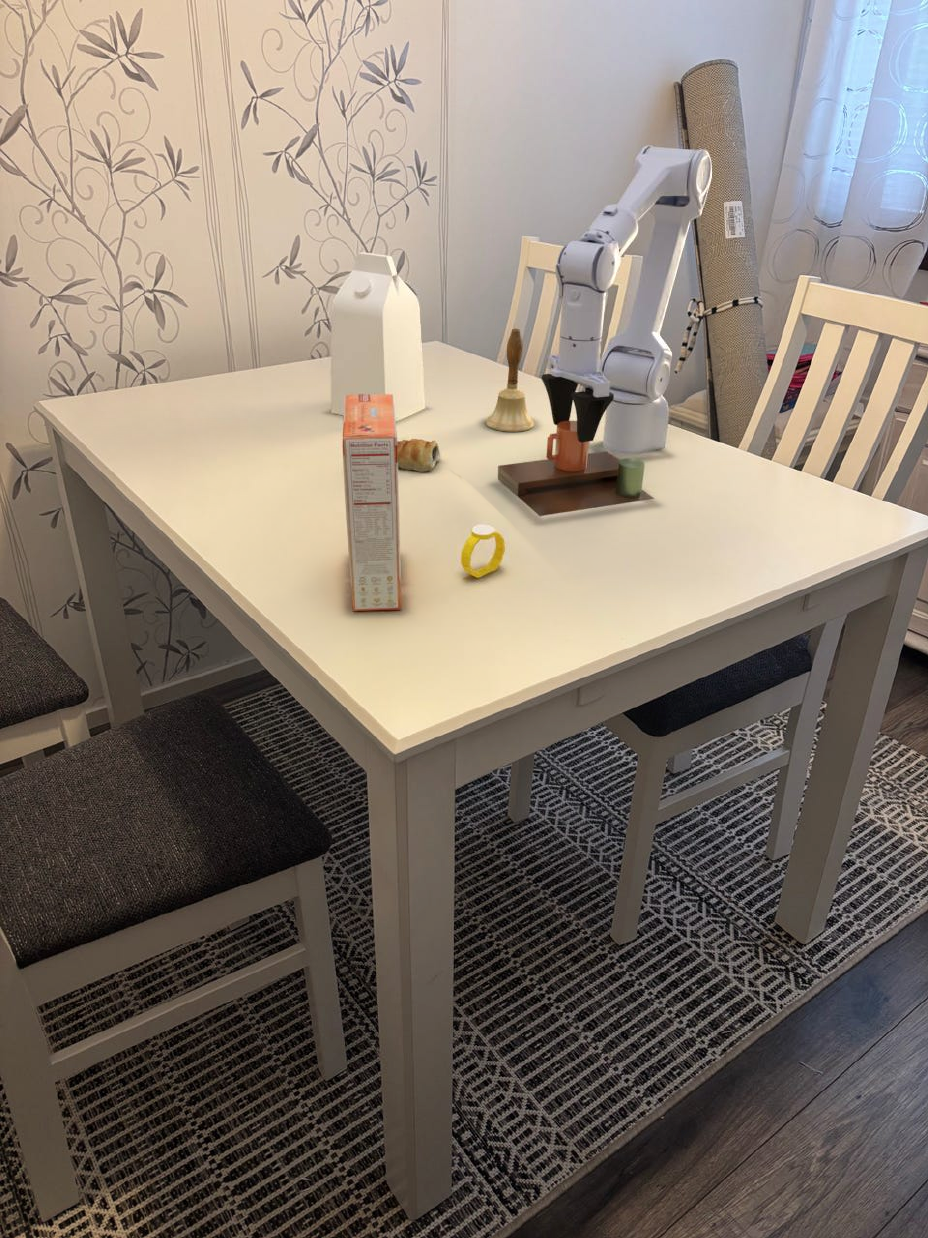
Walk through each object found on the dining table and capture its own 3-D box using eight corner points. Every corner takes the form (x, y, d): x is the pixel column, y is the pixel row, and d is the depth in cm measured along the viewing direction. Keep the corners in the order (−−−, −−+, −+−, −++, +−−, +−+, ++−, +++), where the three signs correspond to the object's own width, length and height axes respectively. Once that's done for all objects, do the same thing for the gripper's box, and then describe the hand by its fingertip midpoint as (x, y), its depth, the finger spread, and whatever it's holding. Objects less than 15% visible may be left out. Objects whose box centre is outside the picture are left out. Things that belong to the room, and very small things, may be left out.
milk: (425, 408, 172) (425, 253, 159) (386, 425, 163) (383, 264, 150) (370, 396, 177) (366, 245, 164) (330, 412, 169) (322, 255, 156)
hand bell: (536, 418, 168) (542, 324, 160) (531, 434, 161) (537, 337, 153) (489, 414, 170) (492, 321, 162) (482, 430, 163) (485, 333, 155)
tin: (632, 486, 140) (636, 456, 138) (646, 495, 137) (649, 465, 135) (611, 489, 139) (614, 459, 137) (623, 498, 136) (627, 468, 134)
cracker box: (350, 557, 121) (343, 392, 110) (399, 556, 121) (396, 391, 111) (348, 613, 109) (340, 434, 98) (402, 612, 109) (399, 433, 99)
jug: (581, 457, 144) (584, 418, 141) (596, 468, 140) (600, 428, 137) (538, 463, 142) (541, 423, 139) (553, 474, 138) (556, 434, 135)
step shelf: (605, 469, 148) (606, 451, 147) (653, 504, 137) (656, 484, 135) (497, 484, 142) (497, 465, 141) (539, 522, 131) (540, 502, 129)
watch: (492, 562, 120) (494, 518, 117) (508, 570, 119) (510, 525, 116) (456, 576, 117) (457, 531, 114) (471, 585, 115) (473, 539, 112)
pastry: (371, 467, 147) (371, 443, 145) (384, 452, 153) (383, 429, 151) (432, 473, 145) (432, 449, 143) (442, 458, 151) (442, 434, 149)
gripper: (531, 325, 136) (525, 419, 143) (579, 351, 125) (571, 452, 131) (575, 322, 139) (568, 414, 145) (627, 347, 127) (617, 446, 134)
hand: (573, 432), depth 139 cm, fingers open, 7 cm apart
